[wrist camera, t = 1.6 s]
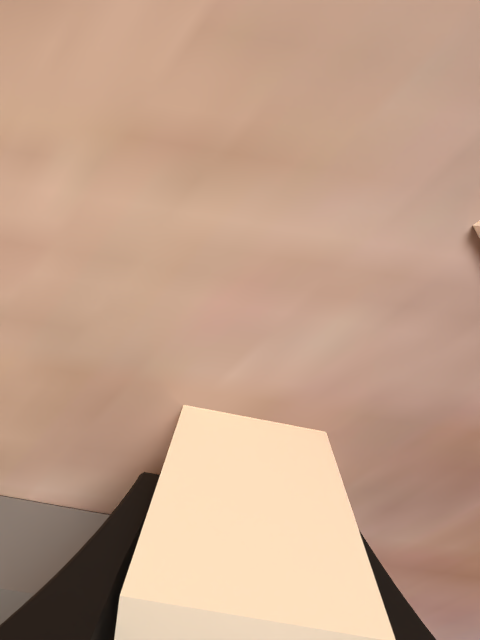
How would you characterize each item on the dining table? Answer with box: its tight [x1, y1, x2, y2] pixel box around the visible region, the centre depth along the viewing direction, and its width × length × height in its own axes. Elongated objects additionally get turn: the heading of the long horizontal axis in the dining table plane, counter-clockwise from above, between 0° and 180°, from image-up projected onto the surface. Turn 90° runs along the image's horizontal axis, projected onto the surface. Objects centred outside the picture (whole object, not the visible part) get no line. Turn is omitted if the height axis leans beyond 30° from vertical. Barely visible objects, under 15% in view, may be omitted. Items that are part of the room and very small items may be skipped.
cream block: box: [114, 405, 395, 640], centre depth 10 cm, size 5×5×6 cm
